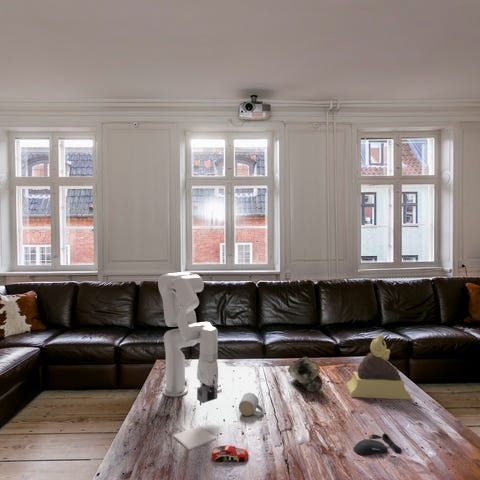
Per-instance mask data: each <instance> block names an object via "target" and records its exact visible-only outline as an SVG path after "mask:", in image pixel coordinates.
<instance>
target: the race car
mask: <svg viewBox="0 0 480 480" xmlns="http://www.w3.org/2000/svg"><path fill="white" fill-rule="evenodd" d="M248 459H249V453H248V451H247V450H246V449H244V448H239V447H236V446H234V445H231V444H230V445H229V444H227V445H220V446H216V447H214V448H213V447H212V451H211V460H212V461H213V462H218V463H222V462H223V463H224V462H227V463H229V462H232V463H234V462H235V463H236V462H240V463H244V462H245V461H247V460H248Z"/></svg>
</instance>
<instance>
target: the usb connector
mask: <svg viewBox="0 0 480 480" xmlns="http://www.w3.org/2000/svg"><path fill="white" fill-rule="evenodd" d="M212 387H213V385H211V388H212ZM196 389H197V391H196V392H197V393H196V400H197V401H198V402H200V403H202V404H204V403H208V402H210V401H214V400H217V399H218V394H219V393H222V392H223V390H222V388H221V387H220V386H219V387H218V388H216V390H215V397H214V399H213V400H210V401H208V391H209V389H208V386H207V385H205V386H202V387H201V386H198V387H197V388H196Z"/></svg>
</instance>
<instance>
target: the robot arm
mask: <svg viewBox="0 0 480 480" xmlns="http://www.w3.org/2000/svg"><path fill="white" fill-rule="evenodd" d="M157 284H158V285H157V287H158V291H159V294H160V296H161V299H162V304H163V317H164V321H165V325H166V326H167V327H170V328H172V327H178V328H174V329H170V330H166V332H165V333H164V335H163V343H164V344H163V345H164V351H165V381H164V384H165V387H164V388H163V389H162V394H163V395H164V396H166V397H172V398H176V397H181V396H184V395H186V394H187V393H188V391H189V388H188V386H187V385H186V357H185V354H184V353H183V351H182V350H181V349H182V348H187V347H192V346H193V347H194V346H195V345H196V344H197V343H198V341H199V357H198V362H197V370H196V371H197V372H196V378H197V380H198V381H199V383H200V387H202V386H205V385H207V386H208V389H209V391H208V402H210V400H211V401H214V400H215V399H214V397H215V390H216V388H218V387H219V388H220V385H219V383H218V382H219V366H218V341H219V340H218V339H219V338H218V336H219V334H218V333H219V331H218V328H217V327H216V326H213V325H212V324H211V322H209V321H200V322H197V316H196V315H197V314H196V312H195V309H196V308H198V306H199V304H200V300H199V297H198V296H197V293H201V292H203V290H204V287H205V284H204V280H203V278H202V277H201V276H200V275H199V274H195V273H194V272H185V271H184V272H171V273H164V274H162V275H160V277H158V283H157ZM211 385H213V387H212V388H211ZM213 399H214V400H213Z"/></svg>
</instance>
